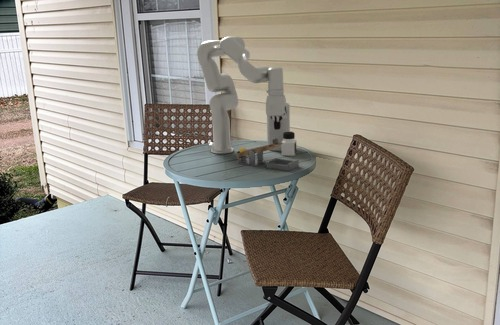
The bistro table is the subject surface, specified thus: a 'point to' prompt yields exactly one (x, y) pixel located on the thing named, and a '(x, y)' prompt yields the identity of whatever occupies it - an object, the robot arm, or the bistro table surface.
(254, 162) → the stand
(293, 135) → the medicine bottle
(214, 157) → the bistro table surface
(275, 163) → the tray
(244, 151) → the ball
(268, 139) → the cylinder vase
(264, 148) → the lever
